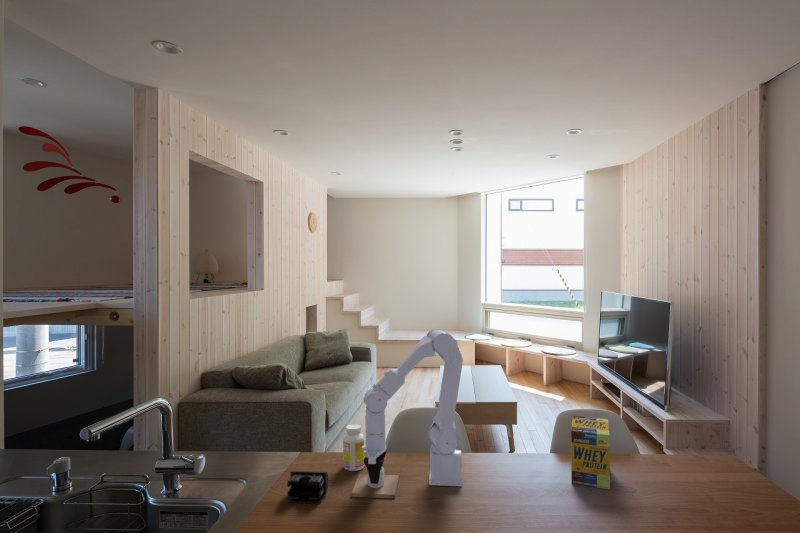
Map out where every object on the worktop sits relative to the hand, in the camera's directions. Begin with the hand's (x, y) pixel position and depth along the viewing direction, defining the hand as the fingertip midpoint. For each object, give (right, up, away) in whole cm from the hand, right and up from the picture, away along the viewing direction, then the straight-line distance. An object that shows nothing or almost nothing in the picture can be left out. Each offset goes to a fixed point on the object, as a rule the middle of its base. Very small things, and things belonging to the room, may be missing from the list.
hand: (376, 479), depth 137 cm
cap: (0, -1, 0) cm, 1 cm away
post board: (0, -2, 0) cm, 2 cm away
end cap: (-19, -3, -5) cm, 20 cm away
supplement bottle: (-8, -3, +14) cm, 16 cm away
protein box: (+64, -2, +6) cm, 64 cm away
